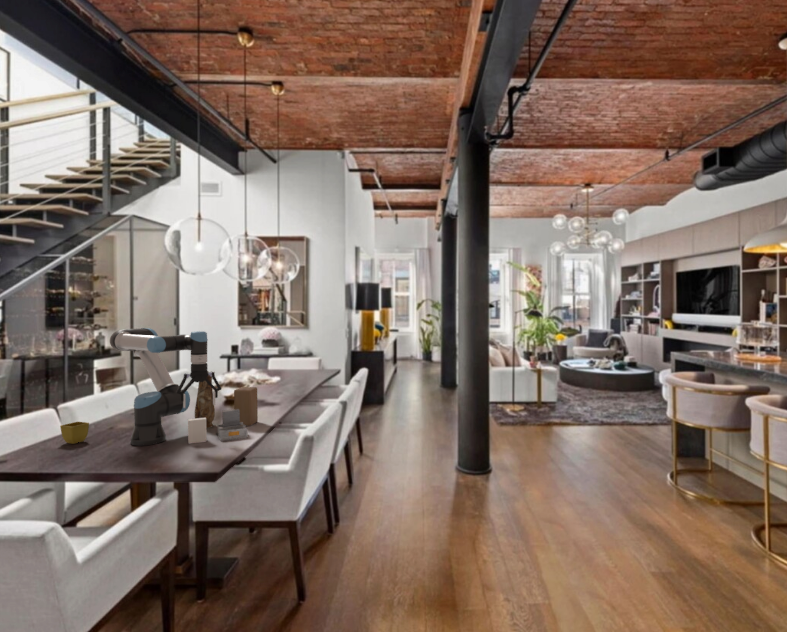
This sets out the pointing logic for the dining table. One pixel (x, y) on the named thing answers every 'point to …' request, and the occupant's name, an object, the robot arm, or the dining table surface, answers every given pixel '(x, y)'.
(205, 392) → the vase
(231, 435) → the frame
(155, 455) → the dining table surface
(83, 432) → the flower pot
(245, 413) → the block
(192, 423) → the panel
